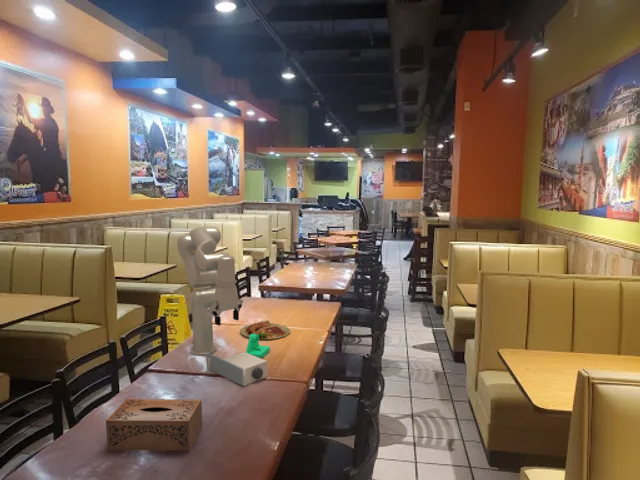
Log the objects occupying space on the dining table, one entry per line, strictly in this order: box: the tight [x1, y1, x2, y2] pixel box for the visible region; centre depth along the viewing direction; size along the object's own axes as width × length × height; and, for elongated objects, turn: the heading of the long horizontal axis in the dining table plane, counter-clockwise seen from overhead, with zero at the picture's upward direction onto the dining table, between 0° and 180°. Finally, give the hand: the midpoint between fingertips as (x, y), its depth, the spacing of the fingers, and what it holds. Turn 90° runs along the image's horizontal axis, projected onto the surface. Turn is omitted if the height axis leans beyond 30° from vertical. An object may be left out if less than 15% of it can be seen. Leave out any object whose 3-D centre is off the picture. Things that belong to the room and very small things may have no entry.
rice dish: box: [239, 320, 291, 340], centre depth 256 cm, size 28×28×5 cm
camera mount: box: [245, 334, 271, 359], centre depth 222 cm, size 12×8×10 cm, turn 163°
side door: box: [205, 353, 247, 387], centre depth 195 cm, size 28×2×7 cm, turn 47°
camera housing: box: [223, 351, 268, 386], centre depth 197 cm, size 18×12×7 cm
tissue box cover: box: [105, 398, 203, 452], centre depth 148 cm, size 26×14×10 cm, turn 89°
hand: (227, 322), depth 200 cm, fingers open, 9 cm apart
